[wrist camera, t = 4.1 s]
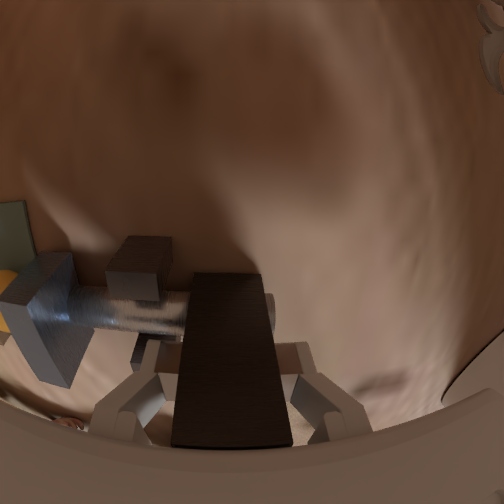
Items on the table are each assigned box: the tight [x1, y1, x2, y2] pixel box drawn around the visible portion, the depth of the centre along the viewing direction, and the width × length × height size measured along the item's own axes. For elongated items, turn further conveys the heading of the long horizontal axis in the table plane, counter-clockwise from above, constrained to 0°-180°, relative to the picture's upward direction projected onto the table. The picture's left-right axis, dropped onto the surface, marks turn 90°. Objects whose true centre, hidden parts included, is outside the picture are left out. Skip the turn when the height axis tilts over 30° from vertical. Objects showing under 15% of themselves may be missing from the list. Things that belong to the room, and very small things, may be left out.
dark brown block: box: [104, 236, 181, 372], centre depth 12 cm, size 2×6×3 cm, turn 175°
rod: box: [0, 251, 293, 450], centre depth 9 cm, size 12×5×8 cm, turn 86°
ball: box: [0, 270, 18, 333], centre depth 10 cm, size 4×4×4 cm
